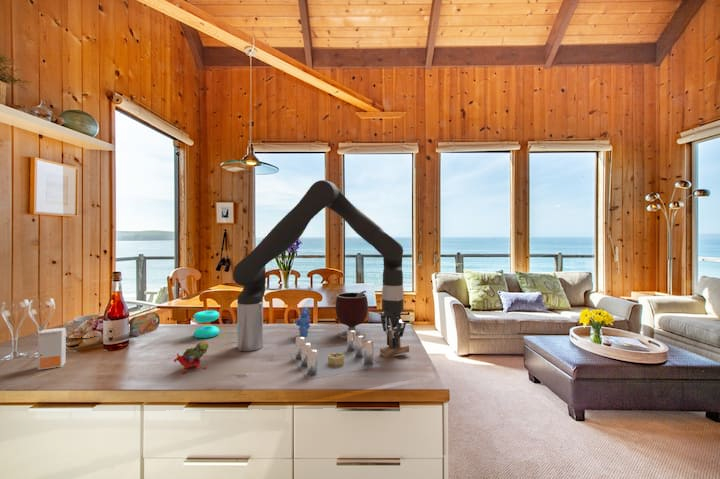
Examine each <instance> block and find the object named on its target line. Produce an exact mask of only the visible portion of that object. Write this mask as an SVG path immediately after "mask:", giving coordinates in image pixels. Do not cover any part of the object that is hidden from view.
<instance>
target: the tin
mask: <svg viewBox="0 0 720 479" xmlns="http://www.w3.org/2000/svg"><path fill="white" fill-rule="evenodd" d="M128 322H129V324H130V334H131V335H130V334H129V335H130V336H132V337H134V336H135V337H140V336H139V335H141V336H143V335H146V334H149V333H152V332H154V331H156V330H157V329H158V327H159V325H160V322H161V319H160V316H159V314H158V313H157V312H155V311H153V312H146V313H143V314H140V315H136V316H133V317H132V318H130V319H129V321H128ZM151 331H152V332H151ZM148 332H149V333H148ZM145 333H146V334H145ZM142 334H143V335H142Z"/></svg>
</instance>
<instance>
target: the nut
mask: <svg viewBox="0 0 720 479" xmlns="http://www.w3.org/2000/svg"><path fill="white" fill-rule="evenodd" d="M344 362H345V354H342V353H332V354H329V356H328V365H331V366H334V367H336V366H342V365H344Z"/></svg>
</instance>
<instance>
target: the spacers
mask: <svg viewBox="0 0 720 479" xmlns="http://www.w3.org/2000/svg"><path fill="white" fill-rule="evenodd" d="M305 337H306V336H305ZM305 337H303V336H301V335H299V336H296V337H295V353H296V359H297V360H301V366H302V367H307V374H308V375H311V376H312V375H316V374H317V349H318V348H311V342H309V341H305V339H306V338H305ZM346 340H347V341H346V343H347V344H346V345H347V350H348V351H355V357H357V358H362V357H364V364H365V365H372V364H373V361H374V341H373V340H369V339H368V340H367V339H366V340H365V336H363V335H356V331H355V330H348V331H347V339H346Z"/></svg>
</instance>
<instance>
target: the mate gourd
mask: <svg viewBox="0 0 720 479" xmlns="http://www.w3.org/2000/svg"><path fill="white" fill-rule="evenodd" d="M366 293H367V290H363V291H361V292H342V293H337V295H336V300H335V313H336V314H335V315H336V318H337V320H338V321H339V322H340V324H341V325H345V326H347V327H348V328H347V329H342V330H339V331H337V336H338V337H339V338H342V339H346V340H347V331H348V330H355V331H356V335H363V336H364V337H366V336H367V332H366V331H365V330H363V329H357V328H356V327H357V326H359V325H361V324H363V323H364V322H365V320H366V319H367V316H368V312H369V311H368V310H369V302H368V298H367V297H368V296H367V294H366Z"/></svg>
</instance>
